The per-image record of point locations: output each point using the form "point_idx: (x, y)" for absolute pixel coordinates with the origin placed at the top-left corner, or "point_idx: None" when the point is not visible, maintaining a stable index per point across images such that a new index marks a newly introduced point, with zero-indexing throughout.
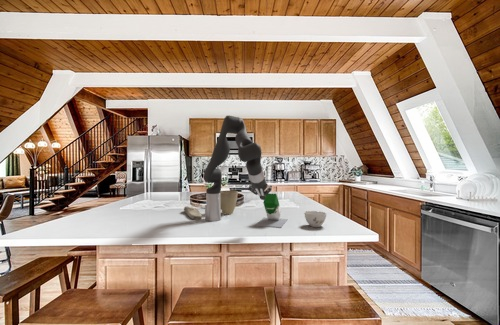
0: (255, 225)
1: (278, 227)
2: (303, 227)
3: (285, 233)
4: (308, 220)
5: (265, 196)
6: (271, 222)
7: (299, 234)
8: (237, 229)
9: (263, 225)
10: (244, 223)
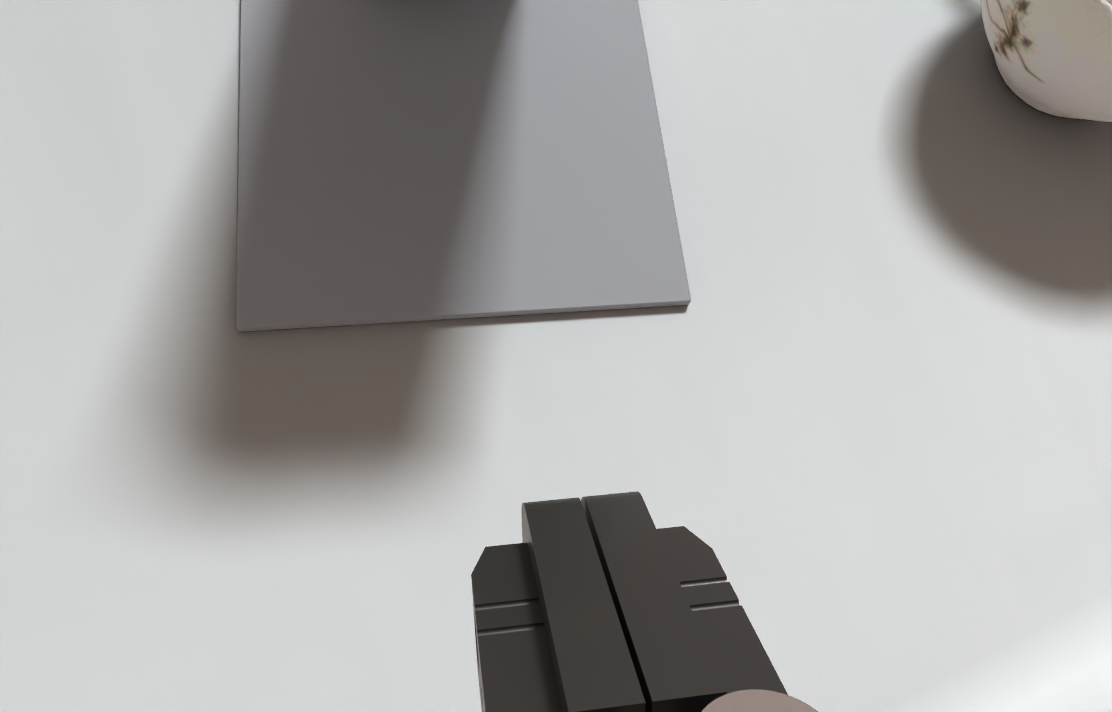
0: (259, 329)
1: (647, 305)
2: (956, 177)
3: (867, 592)
4: (1069, 88)
5: (711, 559)
6: (456, 89)
7: (1063, 561)
8: (2, 687)
9: (395, 299)
10: (20, 246)
